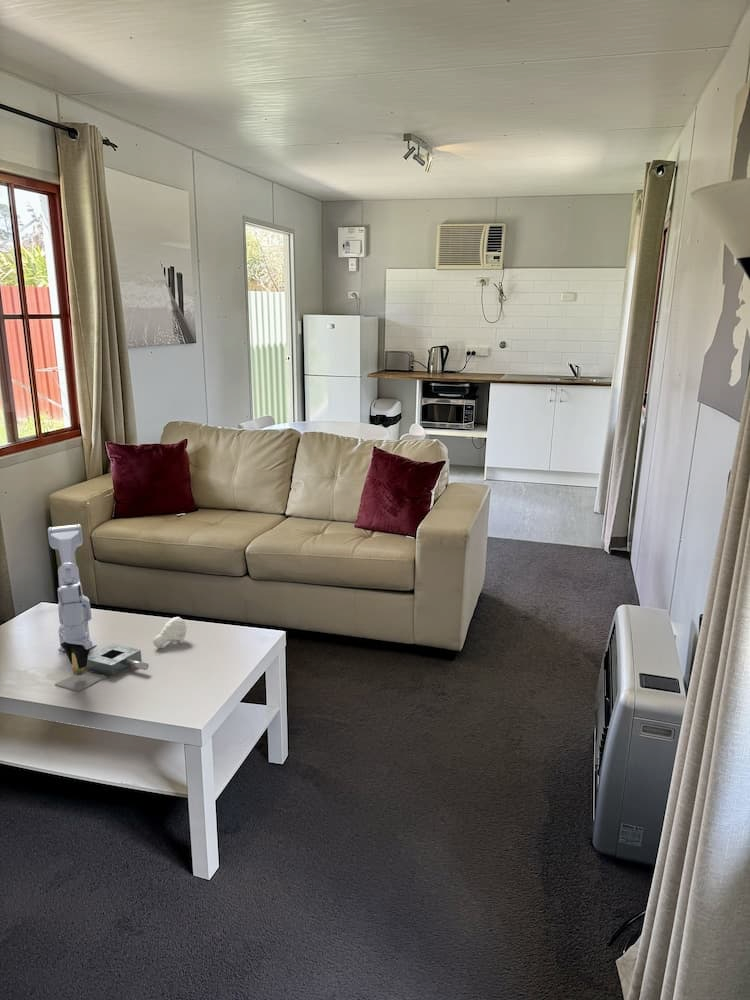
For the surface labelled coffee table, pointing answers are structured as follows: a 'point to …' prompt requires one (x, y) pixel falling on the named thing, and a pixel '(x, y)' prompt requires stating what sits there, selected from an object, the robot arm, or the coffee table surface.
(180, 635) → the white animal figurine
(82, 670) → the gold metal cylinder
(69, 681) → the rubber mat
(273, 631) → the coffee table surface
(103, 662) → the chuck block
